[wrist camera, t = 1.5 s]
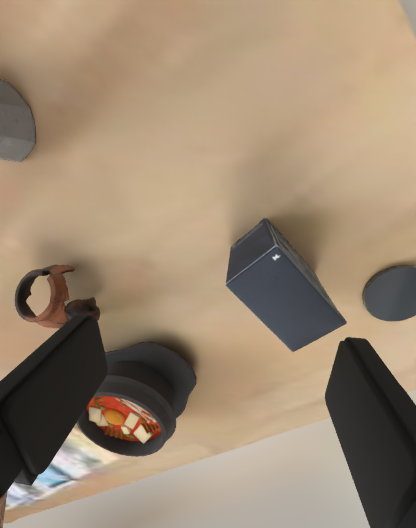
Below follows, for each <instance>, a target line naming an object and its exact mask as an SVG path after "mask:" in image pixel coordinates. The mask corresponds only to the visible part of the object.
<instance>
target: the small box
mask: <svg viewBox="0 0 416 528" xmlns="http://www.w3.org/2000/svg"><path fill="white" fill-rule="evenodd" d="M225 285H226V286H227V287H228V288H229V289H230V290H231V291H232V292H233V293H234V294H235V295H236V296H237V297H238V298H239V299H240V300H241V301H242V302H243V303H244V304H245V305H246V306H247V307H248V308H249V309H250V310H251V311H252V312H253V313H254V314H255V315H256V316H257V317H258V318H259V319H260V320H261V321H262V322H263V323H264V324H265V325H266V326H267V327H268V328H269V329H270V330H271V331H272V332H273V333H274V334H275V335H276V336H277V337H278V338H279V339H280V340H281V341H282V342H283V343H284V344H285V345H286V346H287V347H288V348H289V349H290V350H291V351H292V352H294V351H296V350H298V349H300V348H302V347H304V346H306V345H308V344H309V343H311V342H313V341H315V340H317V339H319V338H321V337H322V336H324V335H326V334H328V333H330V332H332V331H334V330H335V329H337V328H339V327H341V326H343V325H345V324H346V320H345V319H344V318H343V316H342V315H341V314H340V312H339V311H338V310H337V308H336V307H335V305H334V304H333V302H332V301H331V299H330V298H329V296H328V294H327V293H326V291H325V290H324V288H323V286H322V285H321V283H320V281H319V280H318V278H317V276H316V274H315V273H314V272H313V271H312V270H311V268H310V267H309V266H308V265H307V264H306V262H305V261H304V260H303V259H302V258H301V256H299V254H298V253H297V252H296V251H295V250H294V249H293V248H292V246H291V245H290V244H289V243H288V241H287V240H286V239H285V238H284V237H283V236H282V234H281V233H280V232H279V231H278V230H277V229H276V228H275V227H274V226H273V225H272V224H271V223H270V221H269V220H268V219H267V218H265V219H263V220H262V221H261V222H260V223H259V224H258V225H256V226H255V227H254V228H253V229H252V230H251V231H250V232H248V233H247V234H246V235H245V236H244V237H242V238H241V239H239V240H238V241H237V242H236V243H235V244H234V245H233V246H232V247H231V251H230V258H229V265H228V272H227V279H226V284H225Z"/></svg>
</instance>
